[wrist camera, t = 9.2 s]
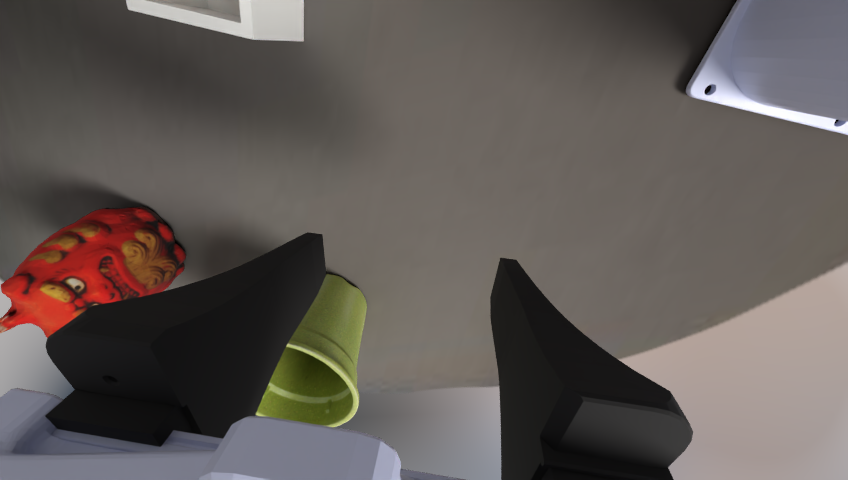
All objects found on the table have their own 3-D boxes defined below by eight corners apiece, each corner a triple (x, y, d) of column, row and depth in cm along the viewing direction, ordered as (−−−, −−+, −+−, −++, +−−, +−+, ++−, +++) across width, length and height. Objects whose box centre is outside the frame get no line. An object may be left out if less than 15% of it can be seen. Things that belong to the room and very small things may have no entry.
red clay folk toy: (208, 273, 28) (-5, 460, 16) (143, 279, 30) (-102, 456, 17) (157, 193, 25) (-178, 352, 12) (85, 204, 26) (-286, 358, 13)
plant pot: (395, 338, 30) (371, 434, 22) (301, 338, 31) (250, 428, 24) (374, 253, 25) (335, 340, 18) (265, 259, 27) (188, 340, 19)
